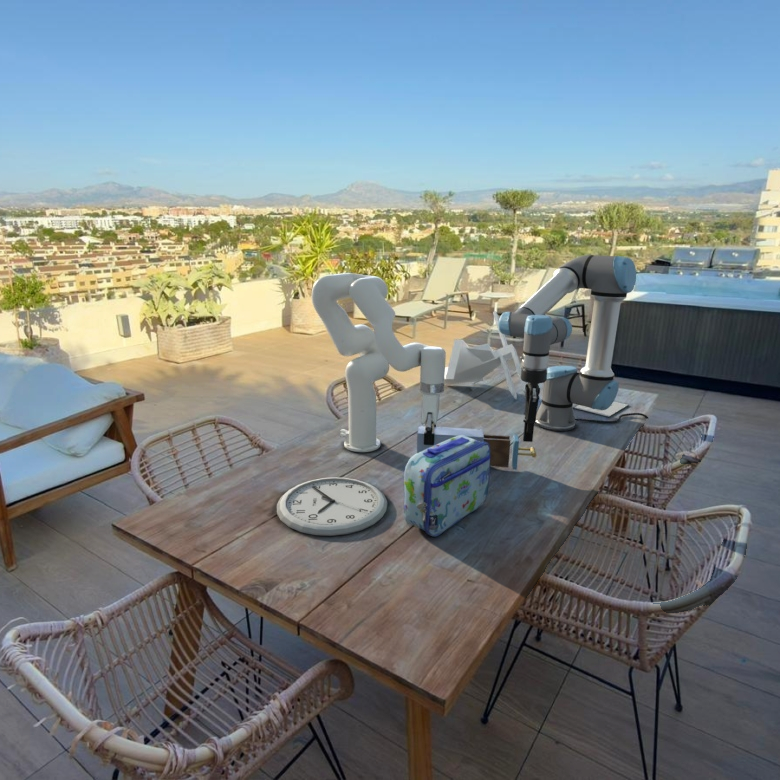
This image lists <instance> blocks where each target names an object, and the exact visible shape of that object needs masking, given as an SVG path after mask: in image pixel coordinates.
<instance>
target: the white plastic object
mask: <svg viewBox="0 0 780 780" xmlns="http://www.w3.org/2000/svg"><path fill="white" fill-rule="evenodd" d="M492 315H493V319H494V321H495V324H496V325H495V326H496V328H497V332H498V335H499V338H500V342H501V345H502V347H500V348H498V349H496V350H495V349H493V348H492V347H491V346H490V344H489V343H488V342H487V343H483V344H479V345H473V346H469V345H468V343H466V342H465V340H464V339H463V338H460V339H458V338H454V340H453V344H452V349H451V353H450V357H449V362H448V366H445V379H444V386H449V385H458V384H467V383H468V384H469V383H473V384H477V383H480V382H482V381H484V378H485V377H486V376H487V375H489V374H490V373H492V372H494V371H495V370H496V369H497V368H499V367H500V366H502V370H503V373H504V376H505V380H506V383H507V386H508V390H509V393H510V394H511V395H512V397H513V398H514V399H515V400H517V392H516V391H517V390H516V388H515V385H514V381H513V378H512V375H511V371H510V369H509V365H508V361H510V360H513V363H514V366H515V369H516V372H517V376H518V380H519V382H520V385H521V389H522V391H523V393H524V395H525V394H526V390H525V385H526V384H527V382H524V381H522V380H521V368H522V364H521V362H520V358H519V355H518V352H517V349H516V347H515V346H514V345H513V343H511V344H508V341H507V337H506V335H505V334H502V333H501V332H500V331H499V326H498V323H499V319H500V315H499V314H498V312H497V311H496V310H495V311H492Z"/></svg>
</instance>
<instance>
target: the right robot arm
mask: <svg viewBox="0 0 780 780" xmlns="http://www.w3.org/2000/svg"><path fill="white" fill-rule="evenodd" d="M636 282H637V267H636V264H635V262H634V260H633V259H631V257H627V256H622V255H621V256H620V255H598V254H597V255H596V254H586V255H585V254H584V255H580V256H578V257H575V258H572V259H571V260H568V261H567V262H565V263H564V264H562V265H561V266H559V267H558V268H557V269H556V270H554V272H553V274H552V275H551V278H550V279H549V280H548V281H547V282H546V283H545V284H544V285H542V287H540V288H539V289H538V290H537V291H536V292H535V293H534V294H533V295H532V296H531V297H529V298H528V299H527V300H526V301H525V302H524V303H523V304H522V305H521V306H520V307H518V309H516V310H515V311H504V312H502V314H501V315H499V318H500V319H499V323H498V326H499V331H500V332H501V333H502V334H505V336H508V337H509V336H510V337H514V338H521V339H523V349H522V355H521V356H520V358H519V360H521V380H522V381H524V382H526V385H525V390H526V394H525V393H524V397H525V401H524V412H523V415H524V419H523V422H522V423H523V424H524V426H523V434H522V435H523V436H522V441H523V442H528V443H533V442H534V441H533V439H534V429H535V425H536V426H537V427H539V428H542V429H544V430H549V431H556V432H567V431H572V430H574V429H575V428H576V421H577V422H589V423H590V422H591V423H598V424H599V423H600V424H615V423H618V422H620V421H621V419H622V418H624V417H628V416H641V417H644V418H645V419H648V420H649V416H648V415H646V414H645V413H641V412H630V413H622V414H620V415H619V416H618V418H617V419H615V420H599V419H589V418H577V417H576V416H575V413H574V407H573V405H576V406H578V405H581V406H585V407H589V408H592V409H598V410H606V409H608V408H609V407H610V406H611V405H612V403H613V402H615V400H616V398H617V395H618V392H619V389H620V388H619V387H620V386H619V385H620V384H619V382H618V380H616V379H615V373H614V372H613V370H612V362H613V356H614V348H615V343H616V336H617V330H618V324H619V318H620V317H619V316H620V310H621V305H622V302H623V301H624V300H625V299H626V298H627V295H628V294H630V293H632V292H633V291H634V289H635V285H636ZM577 289H586V290H590V296H591V298H592V299H593V308H592V314H591V315H592V316H591V323H590V329H589V336H588V344H587V350H586V356H585V357H586V359H585V365H584V366H583V367H582V368H581V369H580V370H579V372H578V368H577V367H576V366H572V365H555V366H554V365H553V366H550V367H549V362H550V350H551V349H550V348H551V346H552V345H554V344H555V345H556V344H559V343H562V342H564V341H566V340H567V339H569V338H570V337H571V335H572V332H573V326H572V322H571V321H570V320H569V319H568V318H566V317H564V316H554V317H551V316H549V315H547V314H548V313H549V312H550V311H551V310H552V309H553V308H554V307H555V306H556V305H557V304H558V303H559V302H560V301H561V300H562V299H563V298H564V297H565V296H567V294H571V293H573V292H575V291H576V290H577ZM499 331H498V332H499ZM539 384H542V394H541V387H540V385H539ZM540 394H541V402H540V405H539V400H540ZM538 405H539V406H538ZM575 417H576V418H575Z"/></svg>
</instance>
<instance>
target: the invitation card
mask: <svg viewBox="0 0 780 780" xmlns="http://www.w3.org/2000/svg"><path fill="white" fill-rule="evenodd" d="M628 406H629V404H627V403H623V402H618V401H614V402H613V403H612V405H611V406H610V407H609V408H608V409H606V410H598V409H592V408H589V407H585V406H581V405H575V406H574V407H573V409H575V410H581V411H584V412H587V413H593V414H596V415H600V416H604V417H608V418H609V417H611V416H613V415H614V414H616V413H617V412H619V411H621V410H623V409H624V408H626V407H628Z"/></svg>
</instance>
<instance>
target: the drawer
mask: <svg viewBox="0 0 780 780" xmlns="http://www.w3.org/2000/svg"><path fill="white" fill-rule="evenodd" d="M484 442H487V443H488V444H489V446H490V467H496V468H509V465H510V453H511V467H512V470H514V471H516V470H518V459H519V456H528V457H532V458H536V457H537V456H538V455H537V452H536V448H535V447H534V446H531V447H519V446H520V439H519V435H518V434H513V436H512V452H510V451H511V436H510V435H504V434H503V435H501V434H488V433H487V434H486V433H484ZM519 451H528V452H519ZM529 451H530V452H529Z"/></svg>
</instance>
